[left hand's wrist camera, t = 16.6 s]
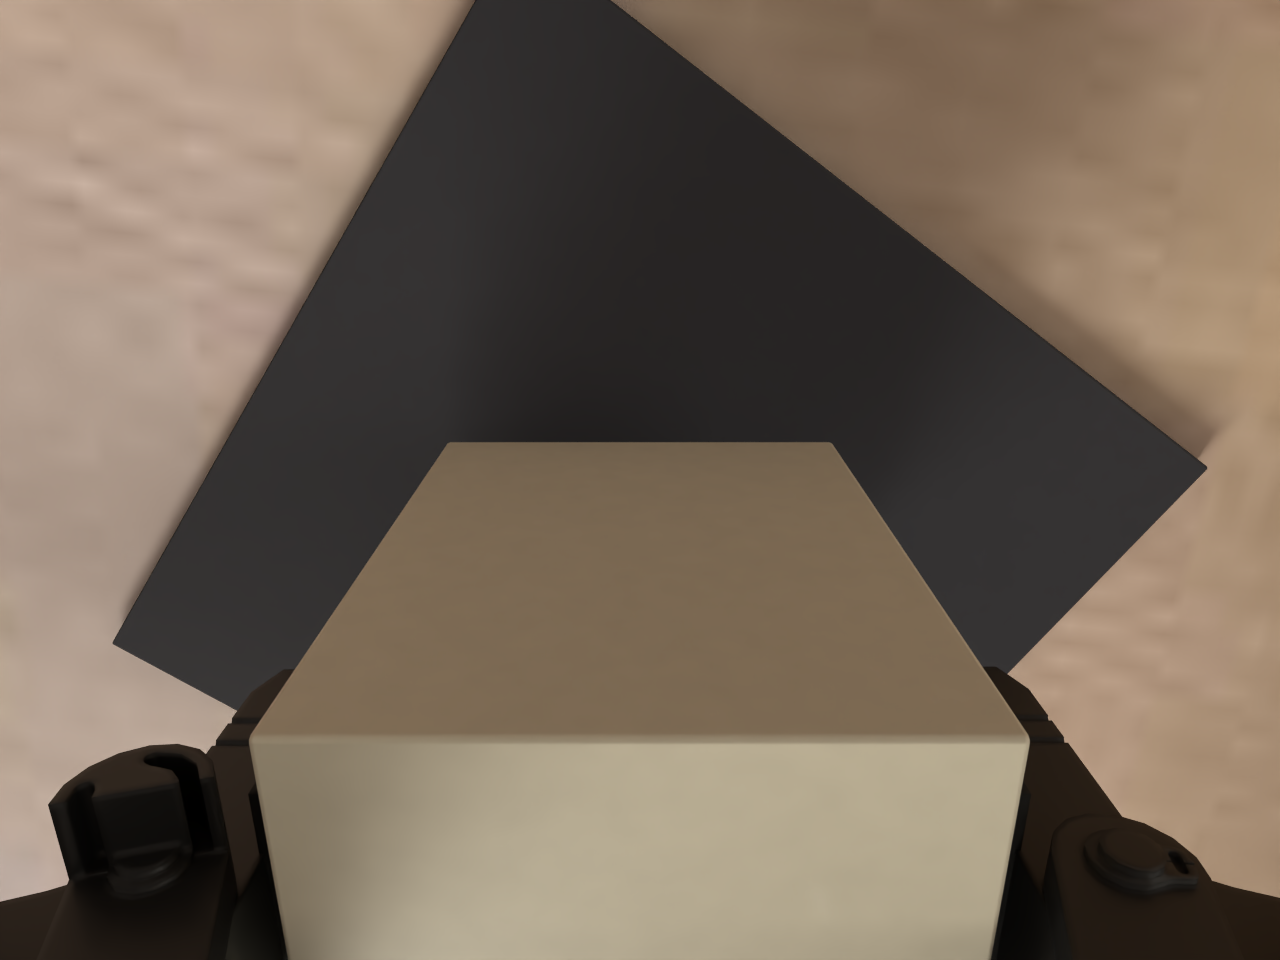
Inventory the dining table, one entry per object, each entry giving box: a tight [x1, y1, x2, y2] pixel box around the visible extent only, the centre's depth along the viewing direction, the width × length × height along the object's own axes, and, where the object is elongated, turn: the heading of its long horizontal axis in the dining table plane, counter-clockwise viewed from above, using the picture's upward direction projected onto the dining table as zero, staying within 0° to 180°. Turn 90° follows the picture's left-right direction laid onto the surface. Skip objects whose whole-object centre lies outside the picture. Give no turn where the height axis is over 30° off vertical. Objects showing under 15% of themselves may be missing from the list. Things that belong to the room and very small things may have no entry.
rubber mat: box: [113, 0, 1207, 711], centre depth 16 cm, size 14×14×1 cm
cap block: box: [249, 442, 1030, 960], centre depth 10 cm, size 6×6×7 cm
